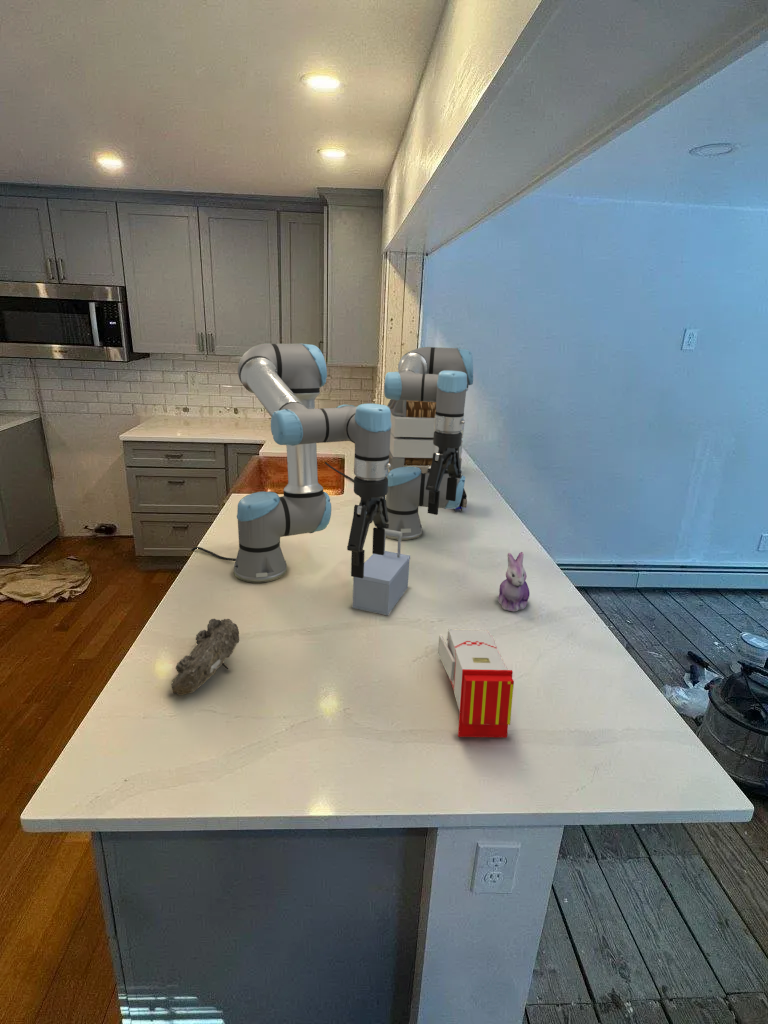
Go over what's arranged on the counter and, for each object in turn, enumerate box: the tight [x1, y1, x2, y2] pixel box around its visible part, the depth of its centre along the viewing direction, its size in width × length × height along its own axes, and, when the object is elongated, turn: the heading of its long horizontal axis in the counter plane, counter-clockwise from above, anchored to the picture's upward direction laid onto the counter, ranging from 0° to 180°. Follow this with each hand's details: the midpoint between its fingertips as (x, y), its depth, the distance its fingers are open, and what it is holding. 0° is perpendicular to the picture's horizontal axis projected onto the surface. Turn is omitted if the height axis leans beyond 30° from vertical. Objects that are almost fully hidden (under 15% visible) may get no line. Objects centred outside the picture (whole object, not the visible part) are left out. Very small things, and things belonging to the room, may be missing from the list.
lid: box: [352, 529, 411, 585], centre depth 151 cm, size 18×10×9 cm, turn 160°
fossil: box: [171, 618, 240, 696], centre depth 121 cm, size 22×10×15 cm
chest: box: [352, 559, 411, 616], centre depth 154 cm, size 17×10×9 cm, turn 160°
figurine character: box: [452, 488, 468, 512], centre depth 228 cm, size 7×8×15 cm
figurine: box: [497, 551, 530, 612], centre depth 152 cm, size 9×10×15 cm
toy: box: [437, 628, 515, 738], centre depth 117 cm, size 12×13×30 cm
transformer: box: [386, 399, 466, 472], centre depth 268 cm, size 34×33×41 cm
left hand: (368, 564), depth 131 cm, fingers open, 13 cm apart
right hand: (441, 506), depth 157 cm, fingers open, 13 cm apart
